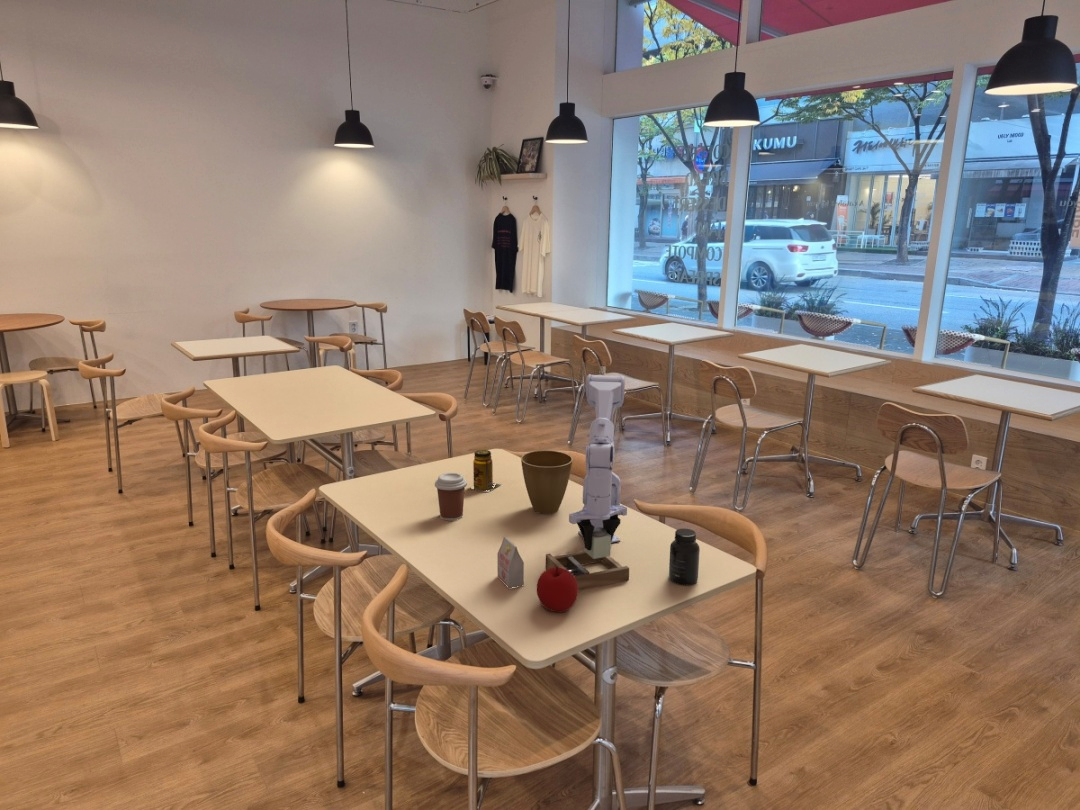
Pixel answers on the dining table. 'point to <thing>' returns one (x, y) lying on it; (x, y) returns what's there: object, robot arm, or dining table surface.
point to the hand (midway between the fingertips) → (597, 546)
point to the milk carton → (510, 564)
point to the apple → (557, 589)
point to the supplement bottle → (684, 558)
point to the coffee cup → (451, 495)
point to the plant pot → (546, 478)
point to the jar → (600, 543)
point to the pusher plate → (575, 567)
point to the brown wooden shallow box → (591, 579)
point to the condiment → (483, 471)
